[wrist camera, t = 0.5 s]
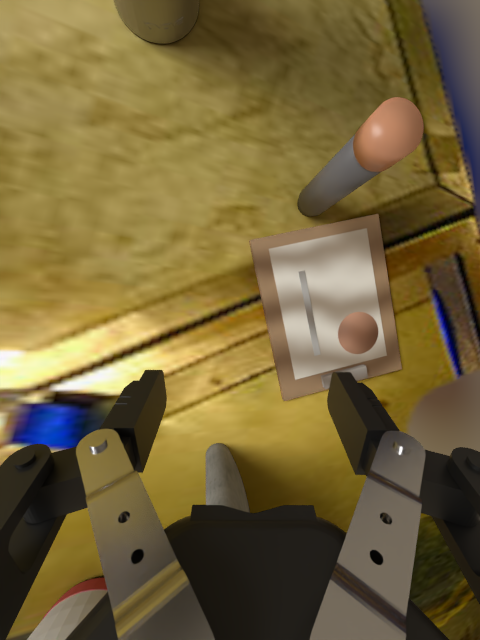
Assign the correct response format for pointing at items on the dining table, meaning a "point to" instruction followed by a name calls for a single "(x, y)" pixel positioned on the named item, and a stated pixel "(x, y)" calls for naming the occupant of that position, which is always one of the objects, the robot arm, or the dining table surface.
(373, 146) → the marker
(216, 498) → the hip flask
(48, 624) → the citrus juicer
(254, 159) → the dining table surface
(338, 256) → the clipboard
